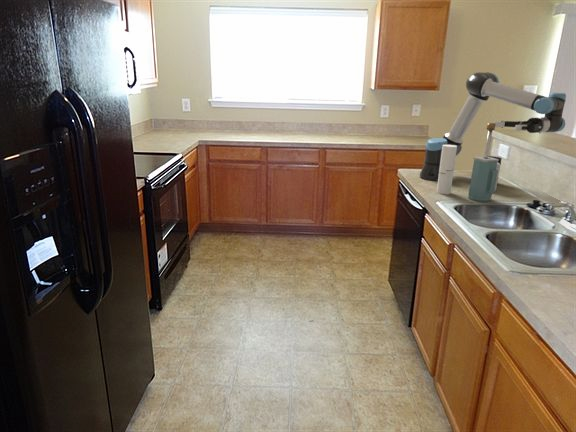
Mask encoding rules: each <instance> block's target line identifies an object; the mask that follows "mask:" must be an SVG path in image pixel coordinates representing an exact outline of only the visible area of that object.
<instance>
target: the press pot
mask: <svg viewBox="0 0 576 432" xmlns="http://www.w3.org/2000/svg"><path fill="white" fill-rule="evenodd" d="M498 161H499V159H495V158H491V157H488V159H484V156H474V157H473V165H472V170H471V171H472V172H471V178H470V184H469V189H468V197H467V198H468V199H469V200H470V201H474V202H480V203H481V202H482V203H489V202H491V201H492V195H493V194H494V193H495V191H494V190H495V184H496V178H497V173H498V170H496V168H497V162H498Z"/></svg>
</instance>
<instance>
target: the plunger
mask: <svg viewBox="0 0 576 432" xmlns="http://www.w3.org/2000/svg"><path fill="white" fill-rule="evenodd" d="M495 125H496V123H494V122H487V125H486V130H487V131H488V132H487V137H486V143H485V150H484V155H483V157H484V159H488V156H490V154H489V153H490V148H491V143H492V142H491V141H492V135H493V131H495V129H496V127H495Z"/></svg>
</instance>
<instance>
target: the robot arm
mask: <svg viewBox="0 0 576 432" xmlns="http://www.w3.org/2000/svg"><path fill="white" fill-rule="evenodd" d="M465 87H466V90H467V94H468V97H467V99H466V100H465V102H464V103H463V106H462V108H461V109H460V111H459V113H458V114H457V117H456V118H455V120H454V122H453V124H452V126H451V128H450V130H449V132H446V133H444V135H443V137H433V138H429V139H427V141H426V144H425V153H424V161H423V162H424V164H423V165H422V168H421V170H420V173H419V178H420V179H423V180H428V181H438V176H439V169H440V161H441V153H442V146H443V145H455V146H457V151H456V157H457V156H458V155H459V154H460V153H461V151H462V148H463V146H462V144H463V142H464V140H463V137H465V136H464V135H465V134H466V132H467V131H468V129H469V127H470V125H471V124H472V122H473V120H474V118H475V117H476V115H477V113H478V112H479V110H480V108H481V107H482V105H483V103H484V102H487V101H488V100H489V98H493V99H497V100H499V101H503V102H506V103H509V104H512V105H516V106H519V107H522V108H526V109H529V110H532V111H534V112H536V113H537V114H541V115H544V117H543V116H542V117H541V116H539V117H530V118H529V119H528V120H523V121H520V120H519V121H518V120H517V121H513V120H512V121H511V120H509V121H508V120H507V121H506V120H501V121H493V123H496V125H495V128H501V129H504V128H505V127H506V128H514V132H523V131H524V132H525V131H527V133H529V134H537V133H538V134H539V135H541V134H542V133H557V132H562V131H563V130H564V129H565V126H566V121H565V118H563V113H564V107H565V103H566V100H567V99H566V98H567V94H566V93H564V92H550V93H549V94H548V96H544V95H540V94H537V93H534V92H531V91H527V90H523V89H520V88H517V87H514V86H510V85H507V84H503V83H500V81H499V77H498V76H497V75H496V74H495V73H492V72H488V71H486V72H481V71H480V72H474V73H472V74H471V75H469V76H468V78H466V82H465Z"/></svg>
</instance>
